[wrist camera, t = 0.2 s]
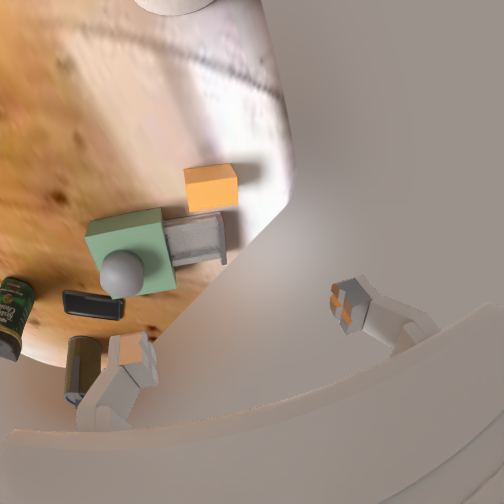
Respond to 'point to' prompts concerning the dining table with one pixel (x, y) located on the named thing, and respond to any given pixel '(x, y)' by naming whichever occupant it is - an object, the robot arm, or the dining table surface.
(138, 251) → the green block with dome
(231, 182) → the orange block
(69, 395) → the canister
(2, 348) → the coffee jar
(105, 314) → the phone
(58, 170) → the dining table surface
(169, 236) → the open gray drawer
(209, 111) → the dining table surface
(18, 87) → the dining table surface
